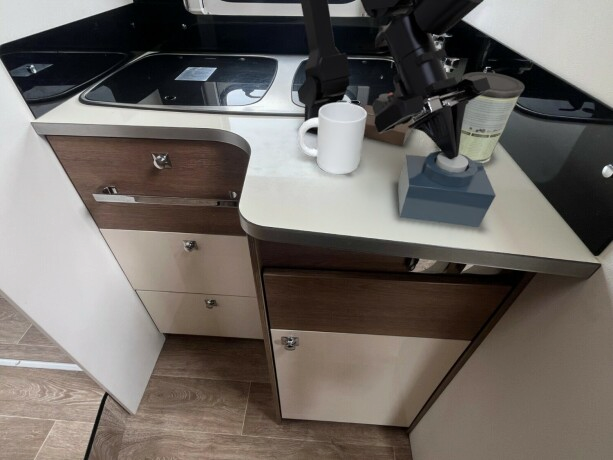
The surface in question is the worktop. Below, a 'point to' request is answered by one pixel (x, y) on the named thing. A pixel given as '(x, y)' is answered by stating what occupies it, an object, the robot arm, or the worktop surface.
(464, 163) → the push button
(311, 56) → the robot arm
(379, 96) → the dial
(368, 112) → the dial panel
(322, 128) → the mug
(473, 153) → the coffee can
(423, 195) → the button base
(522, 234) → the worktop surface
